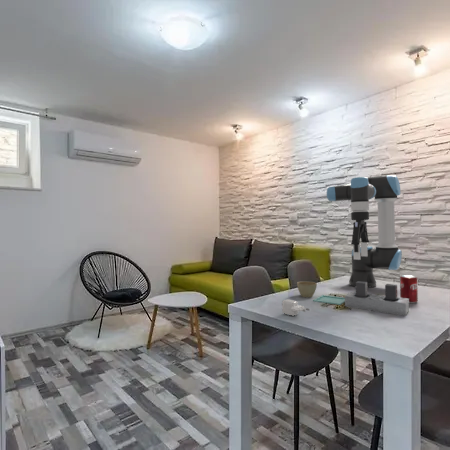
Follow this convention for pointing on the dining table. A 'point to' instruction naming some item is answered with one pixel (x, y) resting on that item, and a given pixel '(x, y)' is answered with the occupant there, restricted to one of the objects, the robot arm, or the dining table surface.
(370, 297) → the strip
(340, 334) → the dining table surface
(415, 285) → the soda can
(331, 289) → the dining table surface
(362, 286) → the plug
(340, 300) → the tray
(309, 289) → the flower pot
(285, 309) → the white lumpy piece
